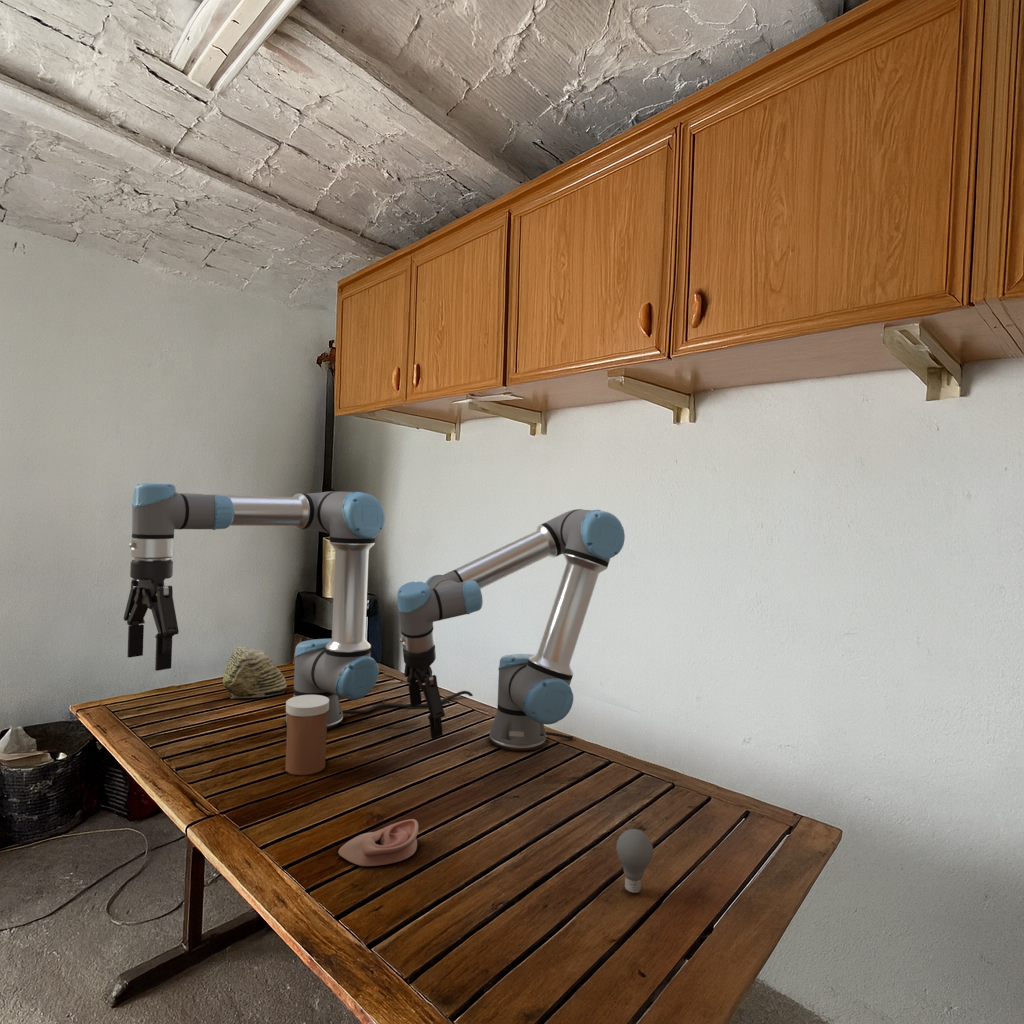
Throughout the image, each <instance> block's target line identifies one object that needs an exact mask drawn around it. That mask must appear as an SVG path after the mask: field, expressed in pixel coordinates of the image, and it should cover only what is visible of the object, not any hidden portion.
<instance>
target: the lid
mask: <svg viewBox="0 0 1024 1024" xmlns="http://www.w3.org/2000/svg"><path fill="white" fill-rule="evenodd" d="M328 710H329V698H327V697H325V696H321V695H301V696H296V697H290V698H289V699H287V700H286V701H285V713H286V714H287V713H288V714H290V715H293V716H301V717H305V716H315V715H320V714H323V713H325V712H327V711H328Z"/></svg>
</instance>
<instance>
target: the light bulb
mask: <svg viewBox="0 0 1024 1024" xmlns="http://www.w3.org/2000/svg"><path fill="white" fill-rule="evenodd" d="M615 849H616V854H617V857H618V859H619V861H620V863H621V865H622V867H623V873H624V874H623V875H624V876H625V878H624V888H625V890H627V891H628V892H630V893H634V894H635V893H639V892H640V891H641V889H642V887H641V886H642V879H643V877H644V875H645V871H646V868H647V867H648V866H649V864H650V863H651V861H652V859H653V855H654V847H653V843H652V841H651V838H649V836H648V835H647V834H646V833H645V832H643V831H642V830H641V829H636V828H629V829H627V830H625V831H623V832H622V833H621V834H620V835H619V837H618V839H617V841H616V847H615Z"/></svg>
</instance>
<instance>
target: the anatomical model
mask: <svg viewBox="0 0 1024 1024" xmlns="http://www.w3.org/2000/svg"><path fill="white" fill-rule="evenodd" d="M418 834H419V822H418V820H417V819H415V818H410V819H409V818H408V819H403V820H401V821H398V822H394V823H391V824H390V825H387V826H385V827H383V828H380V829H377V830H375V831H369V832H365V833H362V834H359V835H357V836H355V837H353V838H351V839H350V840H348V841H347V842H346V843H344V844H343V845H342V846H341V847H340V848H339V849H338V852H337V853H338V855H339V856H340V857H341V858H343V859H344V860H346V861H347V862H349V863H352V864H354V865H356V866H359V867H376V866H384V865H391V864H395V863H398V862H402V861H404V860H407V859H408V858H410V857H411V856H413V855H414V854H415V853H416V851H417V849H418V839H417V836H418Z"/></svg>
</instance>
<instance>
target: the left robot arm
mask: <svg viewBox="0 0 1024 1024" xmlns="http://www.w3.org/2000/svg"><path fill="white" fill-rule="evenodd" d="M385 515H386V513H385V511H384V508H383V505H382V503H381V502H380V501H379V500H378V498H377V497H375V495H373V494H370V493H367V492H363V491H362V492H361V491H337V490H336V491H335V490H333V491H332V490H330V491H321V492H311V493H295V494H294V495H293V496H276V495H275V496H274V495H273V496H272V495H248V494H247V495H246V494H244V495H243V494H220V493H219V494H218V493H217V494H216V493H215V494H214V493H189V492H187V493H186V492H177V491H176V486H175V485H174V484H173V483H152V482H139V483H137V484H136V485H135V486H134V488H133V492H132V501H131V520H132V521H131V542H130V543H128V547H129V548H130V549H131V550H130V556H131V558H133V559H132V560H131V561H130V567H129V568H130V571H129V574H130V575H129V576H130V578H131V581H130V590H129V594H128V598H127V603H126V607H125V610H124V615H123V621H124V622H126V624H127V626H128V629H127V630H128V631H127V658H135V657H142V656H144V635H145V634H144V630H145V625H144V624H145V623H146V621H145V619H144V618H145V616H146V615H147V612H148V609H149V610H151V613H152V618H153V620H154V624H155V627H156V631H157V633H156V635H155V636H154V638H155V661H154V663H155V665H154V668H155V669H154V670H155V671H157V672H159V671H164V670H169V669H172V659H173V657H172V655H173V637H175V636H176V635H179V632H180V631H179V625H178V619H177V615H176V614H177V613H176V609H175V603H174V597H173V595H174V593H173V585H165V580H167V579H171V578H172V577H173V575H174V573H173V572H174V561H173V560H172V559H171V558H173V557H174V554H175V553H174V552H175V530H213V531H215V530H224V529H228V528H230V526H233V527H234V526H237V527H238V526H240V527H243V526H246V527H247V526H249V527H250V526H258V527H259V526H268V527H269V526H276V527H277V526H282V527H284V526H285V527H286V526H287V527H288V526H289V527H290V526H291V527H293V528H294V529H296V530H308V531H309V530H310V531H316V532H319V533H325V534H329V544H330V545H331V546H332V547H333V548H334V550H335V551H334V572H333V573H334V577H333V599H332V625H331V626H332V627H331V638H317V639H308V640H304V641H300V642H299V643H297V645H296V646H295V650H294V655H293V657H294V672H293V673H294V674H293V695H292V696H293V697H296V696H301V695H321V696H325V697H327V698H329V710H328V711H327V731H329V730H332V729H335V728H337V727H339V726H340V725H342V723H343V722H344V715H364V714H369V713H371V712H373V711H374V710H377V709H380V708H403V709H404V708H407V709H409V708H428V706H427V702H426V703H422V704H420V705H417V706H414V707H411V704H410V703H390V702H389V703H379V704H376V705H373V706H371V707H369V708H366V709H362V710H360V709H359V710H357V709H356V710H355V709H346V710H345V709H342V706H341V702H340V699H339V698H341V699H342V700H343V699H344V700H348V701H349V700H350V701H357V700H360V699H362V698H364V697H365V696H367V695H368V694H370V692H371V690H372V689H374V687H375V685H376V683H377V682H378V678H379V674H380V672H379V671H380V670H379V669H380V668H379V665H378V663H377V662H376V660H375V659H374V657H371V652H372V649H371V648H372V644H371V643H370V642H368V640H367V639H366V631H367V607H368V606H367V605H368V604H367V602H368V582H369V581H368V579H369V555H370V553H369V552H370V550H371V548H372V547H374V545H375V544H376V536H378V535H379V534H380V533H381V530H383V528H384V526H385V522H386V521H385V520H386V516H385ZM462 695H467V696H469V697H473V696H474V694H473V693H472V692H471V691H468V690H461V691H458V692H456V693H454V694H451V695H449V696H446V697H444V698H441V702H442V704H443V703H445V702H447V701H449V700H453V699H455V698H457V697H460V696H462ZM293 697H292V698H293ZM285 726H286V727H287V714H286V715H285Z"/></svg>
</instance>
